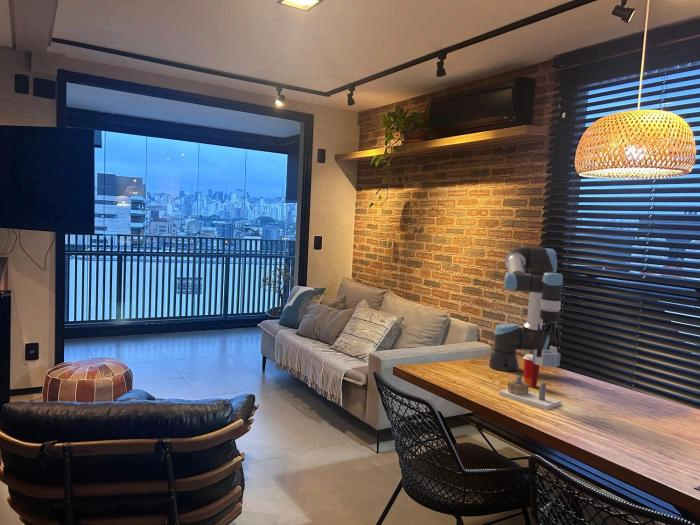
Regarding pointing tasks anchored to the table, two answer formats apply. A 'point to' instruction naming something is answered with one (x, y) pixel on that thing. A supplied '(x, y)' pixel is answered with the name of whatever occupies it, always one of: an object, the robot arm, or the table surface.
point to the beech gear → (518, 388)
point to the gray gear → (548, 358)
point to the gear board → (533, 396)
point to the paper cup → (530, 371)
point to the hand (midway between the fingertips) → (545, 363)
